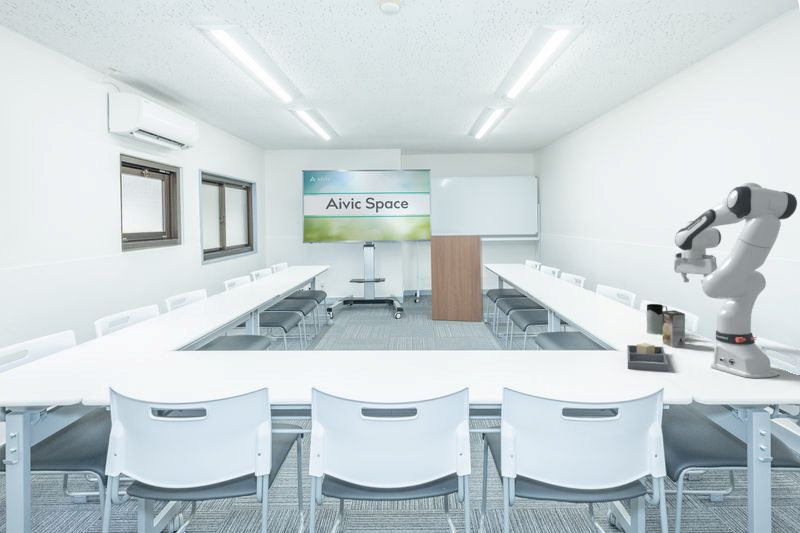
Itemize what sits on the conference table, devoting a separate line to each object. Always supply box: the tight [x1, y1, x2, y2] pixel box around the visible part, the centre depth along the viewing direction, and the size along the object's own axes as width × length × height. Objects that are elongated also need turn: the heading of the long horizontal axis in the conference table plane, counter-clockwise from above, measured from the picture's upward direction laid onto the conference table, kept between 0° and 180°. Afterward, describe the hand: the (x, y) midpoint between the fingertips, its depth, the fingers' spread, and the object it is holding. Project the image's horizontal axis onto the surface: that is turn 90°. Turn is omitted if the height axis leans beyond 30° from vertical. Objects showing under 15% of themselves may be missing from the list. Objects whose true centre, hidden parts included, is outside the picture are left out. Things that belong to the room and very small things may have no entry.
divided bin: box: [626, 344, 669, 372], centre depth 203 cm, size 28×15×3 cm, turn 154°
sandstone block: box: [636, 342, 656, 354], centre depth 209 cm, size 5×5×5 cm
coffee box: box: [662, 310, 686, 348], centre depth 225 cm, size 9×6×16 cm
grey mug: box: [645, 303, 668, 335], centre depth 253 cm, size 9×14×15 cm, turn 115°
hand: (695, 283), depth 225 cm, fingers open, 8 cm apart
